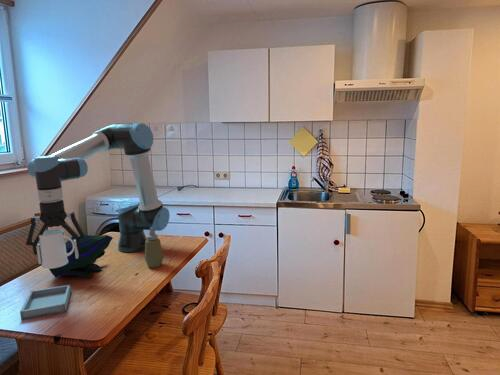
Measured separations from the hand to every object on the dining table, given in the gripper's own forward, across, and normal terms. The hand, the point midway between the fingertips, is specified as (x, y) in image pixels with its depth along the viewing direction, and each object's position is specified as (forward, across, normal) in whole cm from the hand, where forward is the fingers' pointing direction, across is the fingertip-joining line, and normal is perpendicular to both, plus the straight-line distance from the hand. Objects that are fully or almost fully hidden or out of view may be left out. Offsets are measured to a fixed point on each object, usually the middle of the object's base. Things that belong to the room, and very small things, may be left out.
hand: (59, 260), depth 134 cm
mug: (+2, 0, 0) cm, 2 cm away
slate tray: (+16, -6, 0) cm, 17 cm away
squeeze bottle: (+16, +35, +22) cm, 44 cm away
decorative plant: (+17, +6, +25) cm, 31 cm away
